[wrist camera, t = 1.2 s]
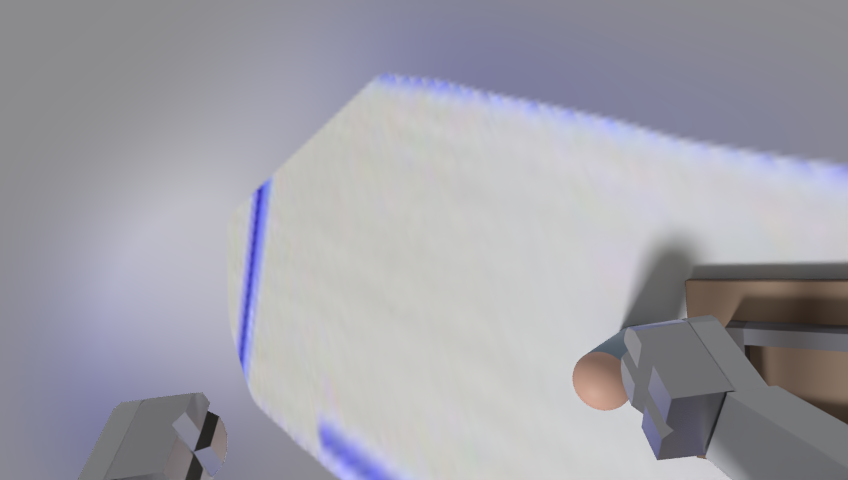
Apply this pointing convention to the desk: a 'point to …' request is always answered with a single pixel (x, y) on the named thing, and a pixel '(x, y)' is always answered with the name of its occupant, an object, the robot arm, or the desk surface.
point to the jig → (785, 332)
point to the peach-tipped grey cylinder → (602, 375)
